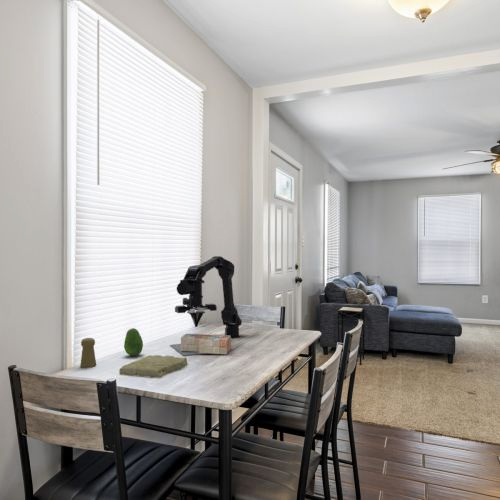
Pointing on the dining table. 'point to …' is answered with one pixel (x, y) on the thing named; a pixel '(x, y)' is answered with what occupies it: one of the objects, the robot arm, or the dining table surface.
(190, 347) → the stack of blocks
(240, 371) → the dining table surface
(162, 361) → the decorative tile
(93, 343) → the cork
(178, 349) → the mat
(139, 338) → the avocado
